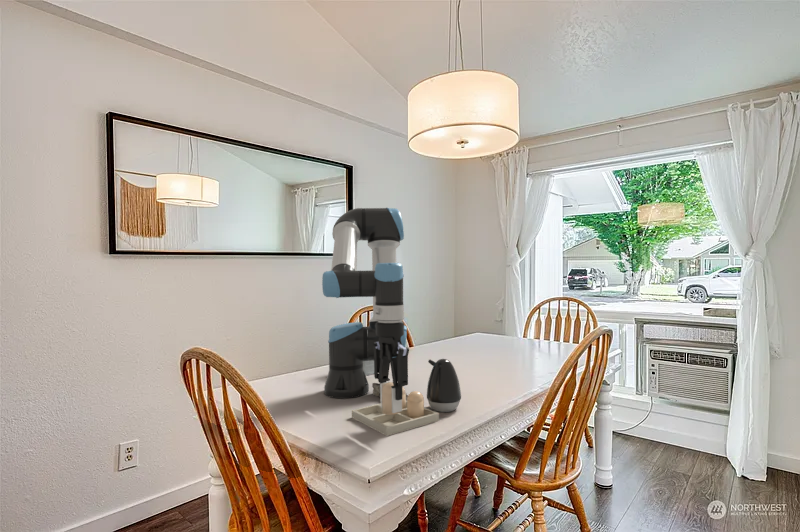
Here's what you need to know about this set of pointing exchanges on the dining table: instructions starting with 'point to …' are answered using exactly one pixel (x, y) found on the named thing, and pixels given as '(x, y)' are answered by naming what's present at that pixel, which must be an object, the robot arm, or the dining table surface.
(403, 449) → the dining table surface
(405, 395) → the beige domed cylinder
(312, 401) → the dining table surface
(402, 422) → the egg tray
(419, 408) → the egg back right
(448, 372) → the pump dispenser
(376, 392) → the mineral rock
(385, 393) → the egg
